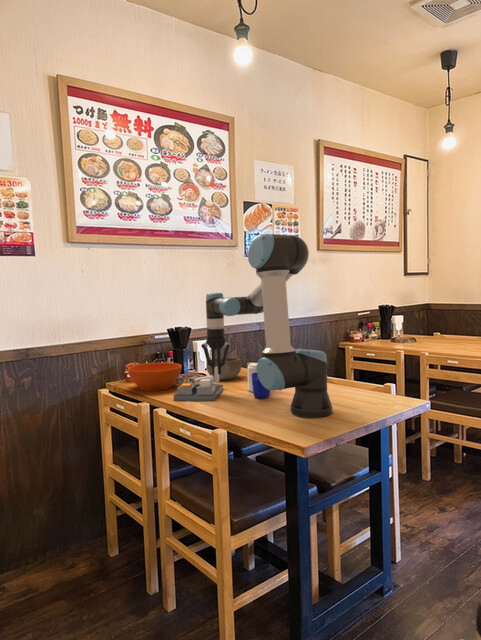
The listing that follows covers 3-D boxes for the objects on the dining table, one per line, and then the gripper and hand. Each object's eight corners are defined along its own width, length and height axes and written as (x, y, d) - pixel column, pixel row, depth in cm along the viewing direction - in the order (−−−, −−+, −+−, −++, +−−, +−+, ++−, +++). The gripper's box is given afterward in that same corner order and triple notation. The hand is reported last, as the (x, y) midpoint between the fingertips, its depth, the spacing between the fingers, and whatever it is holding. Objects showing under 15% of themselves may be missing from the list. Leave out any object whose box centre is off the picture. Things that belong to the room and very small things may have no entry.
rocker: (211, 378, 207) (210, 376, 207) (194, 382, 208) (194, 379, 208) (212, 377, 210) (212, 375, 210) (196, 380, 211) (195, 378, 211)
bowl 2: (210, 375, 245) (210, 356, 244) (243, 375, 243) (243, 356, 242) (203, 382, 228) (203, 362, 227) (239, 382, 226) (238, 361, 225)
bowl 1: (150, 380, 235) (149, 361, 234) (192, 384, 224) (191, 363, 223) (117, 391, 212) (116, 370, 212) (162, 395, 201) (161, 373, 201)
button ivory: (209, 389, 192) (209, 380, 192) (200, 389, 193) (200, 380, 192) (211, 387, 196) (211, 379, 196) (202, 387, 196) (202, 379, 196)
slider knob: (212, 389, 200) (212, 378, 200) (206, 389, 201) (205, 378, 200) (214, 387, 204) (214, 376, 203) (207, 387, 204) (207, 376, 204)
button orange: (189, 393, 193) (189, 385, 193) (181, 393, 194) (180, 385, 194) (192, 391, 197) (191, 383, 197) (183, 391, 198) (183, 383, 198)
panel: (213, 400, 189) (213, 388, 189) (173, 400, 192) (173, 388, 192) (223, 388, 211) (223, 378, 211) (187, 388, 214) (187, 378, 213)
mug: (246, 401, 187) (245, 377, 187) (255, 394, 199) (255, 371, 198) (265, 402, 184) (265, 378, 184) (273, 395, 196) (273, 372, 195)
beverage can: (244, 391, 206) (243, 364, 205) (256, 387, 211) (255, 362, 211) (258, 393, 200) (257, 366, 199) (269, 390, 206) (269, 363, 205)
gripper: (231, 327, 203) (233, 379, 204) (202, 327, 205) (204, 379, 206) (228, 328, 195) (230, 383, 197) (198, 329, 197) (200, 383, 199)
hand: (217, 381), depth 202 cm, fingers closed
